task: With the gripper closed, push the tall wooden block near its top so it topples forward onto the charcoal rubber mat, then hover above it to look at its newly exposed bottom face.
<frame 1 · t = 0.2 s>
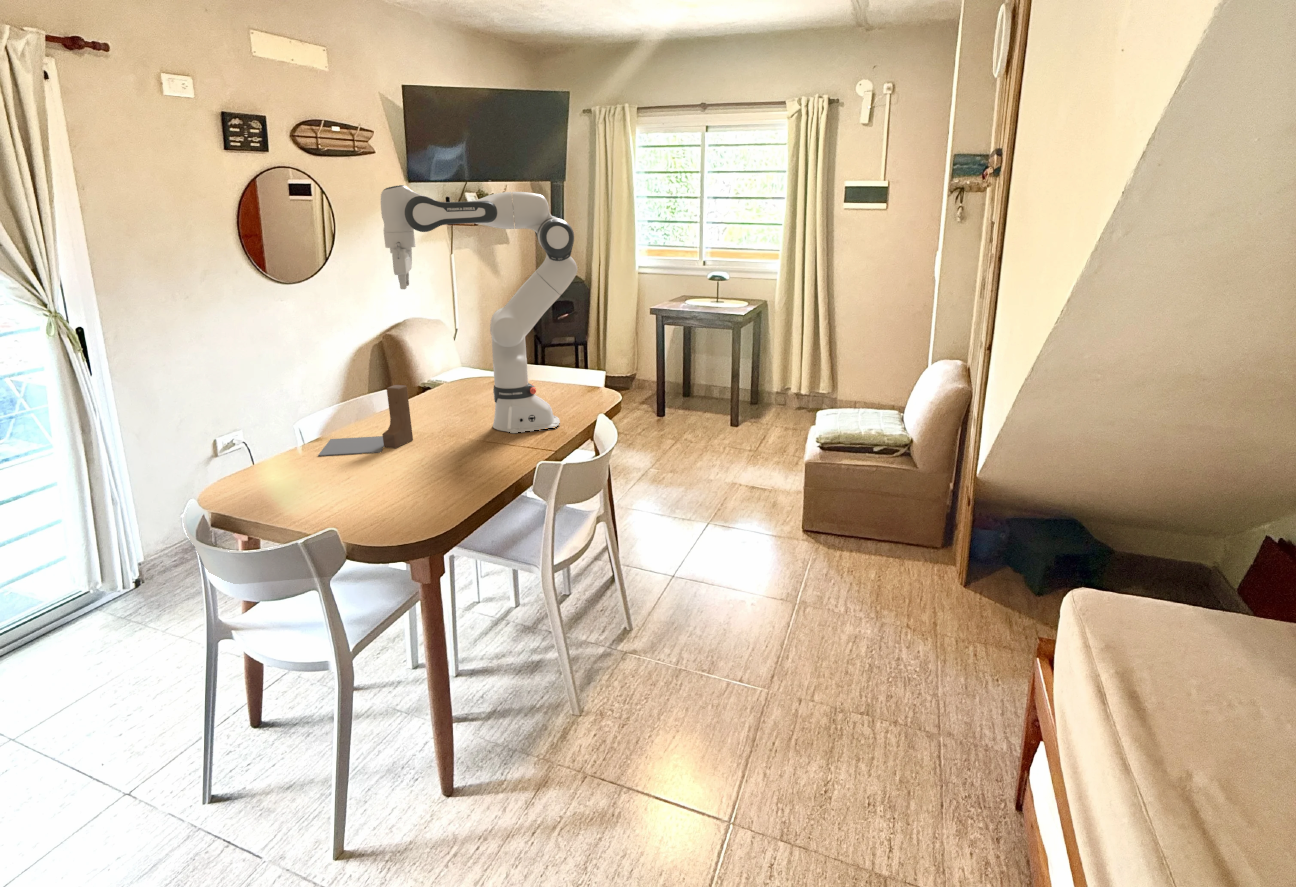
hand: (405, 287, 231), 47 cm above the table, tool pointing down, fingers open, 8 cm apart
wooden block: (398, 444, 233), on the table
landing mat: (355, 446, 231), on the table
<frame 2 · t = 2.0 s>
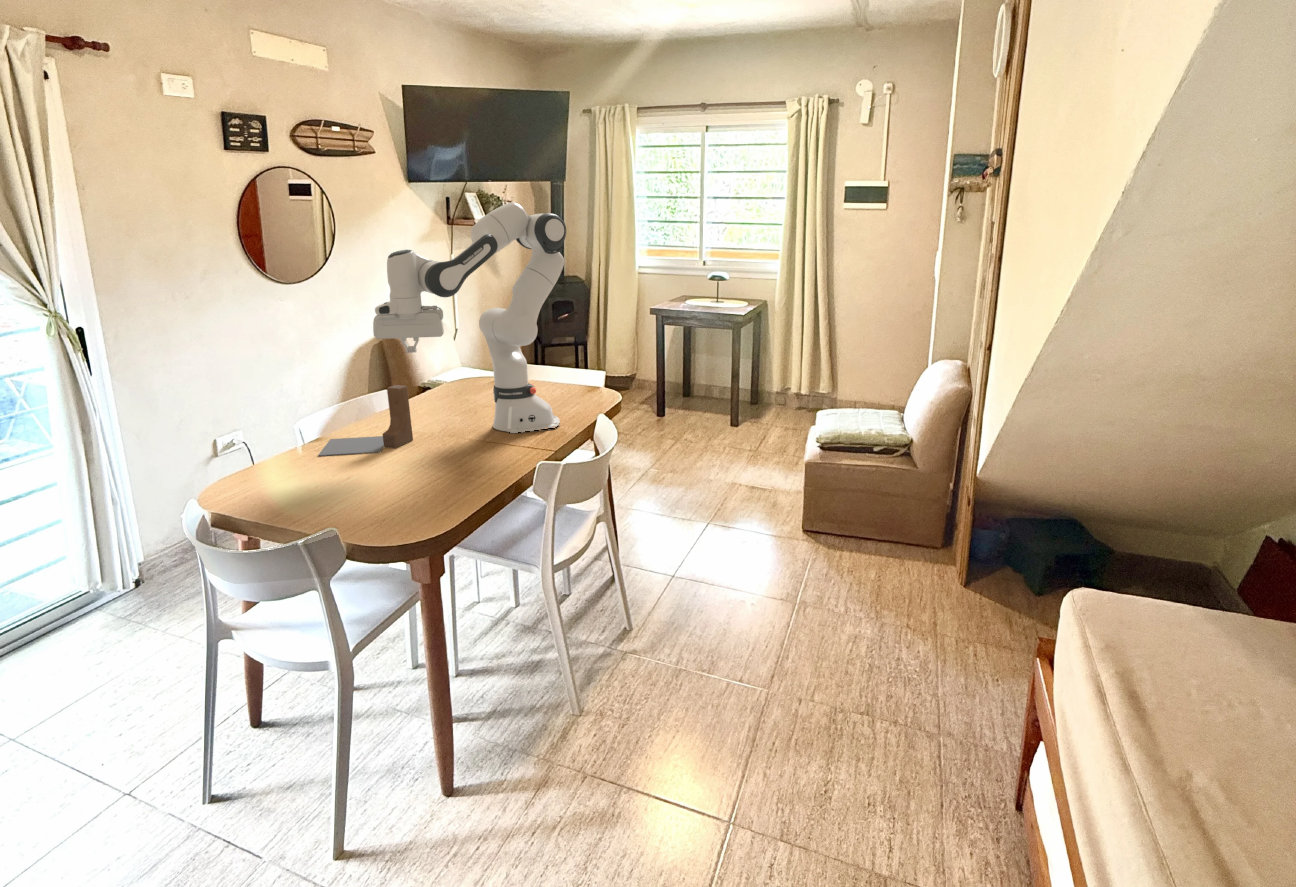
hand: (411, 352, 225), 29 cm above the table, tool pointing down, fingers closed
nothing on the table moved.
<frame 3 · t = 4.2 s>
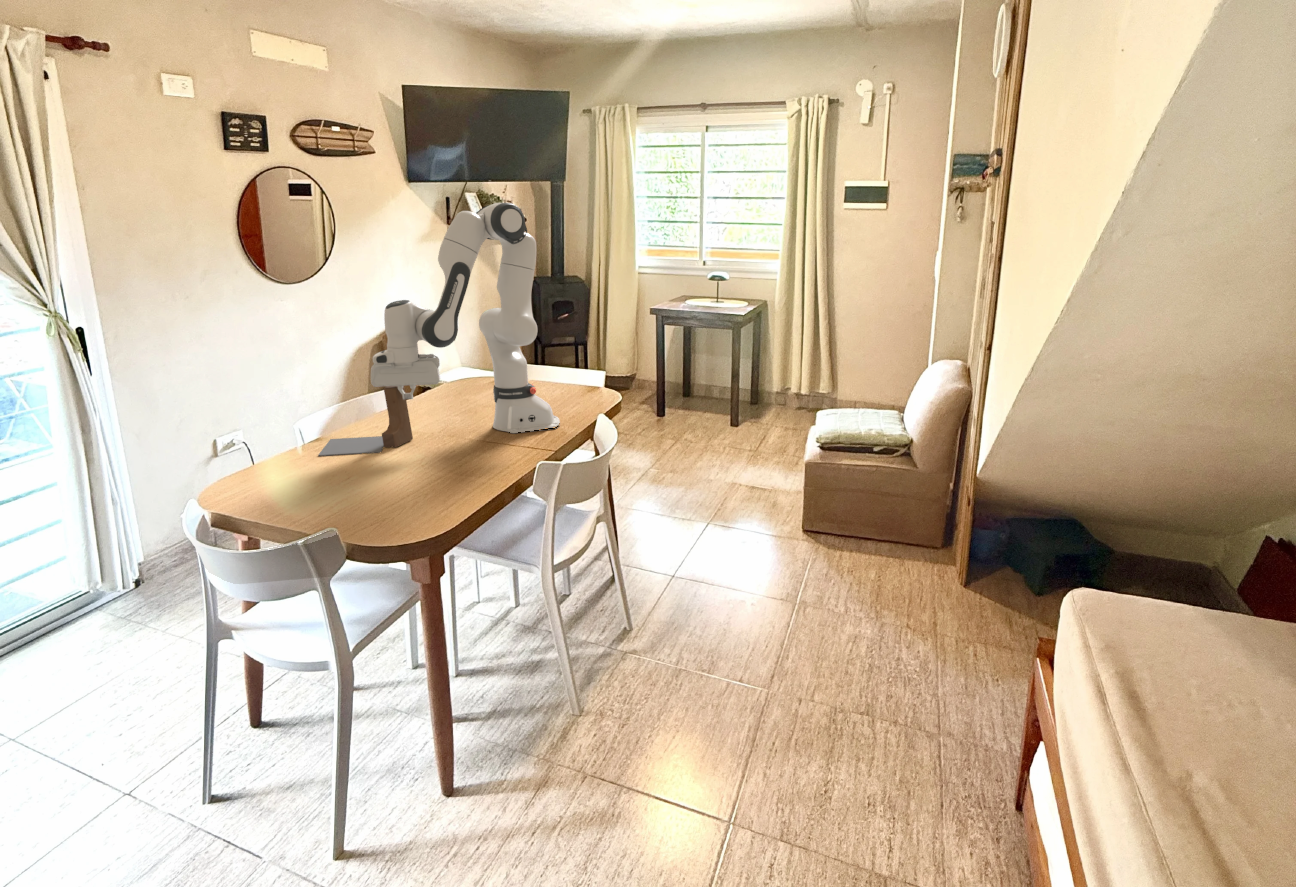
hand: (408, 399, 229), 14 cm above the table, tool pointing down, fingers closed
wooden block: (398, 443, 233), on the table, touching gripper
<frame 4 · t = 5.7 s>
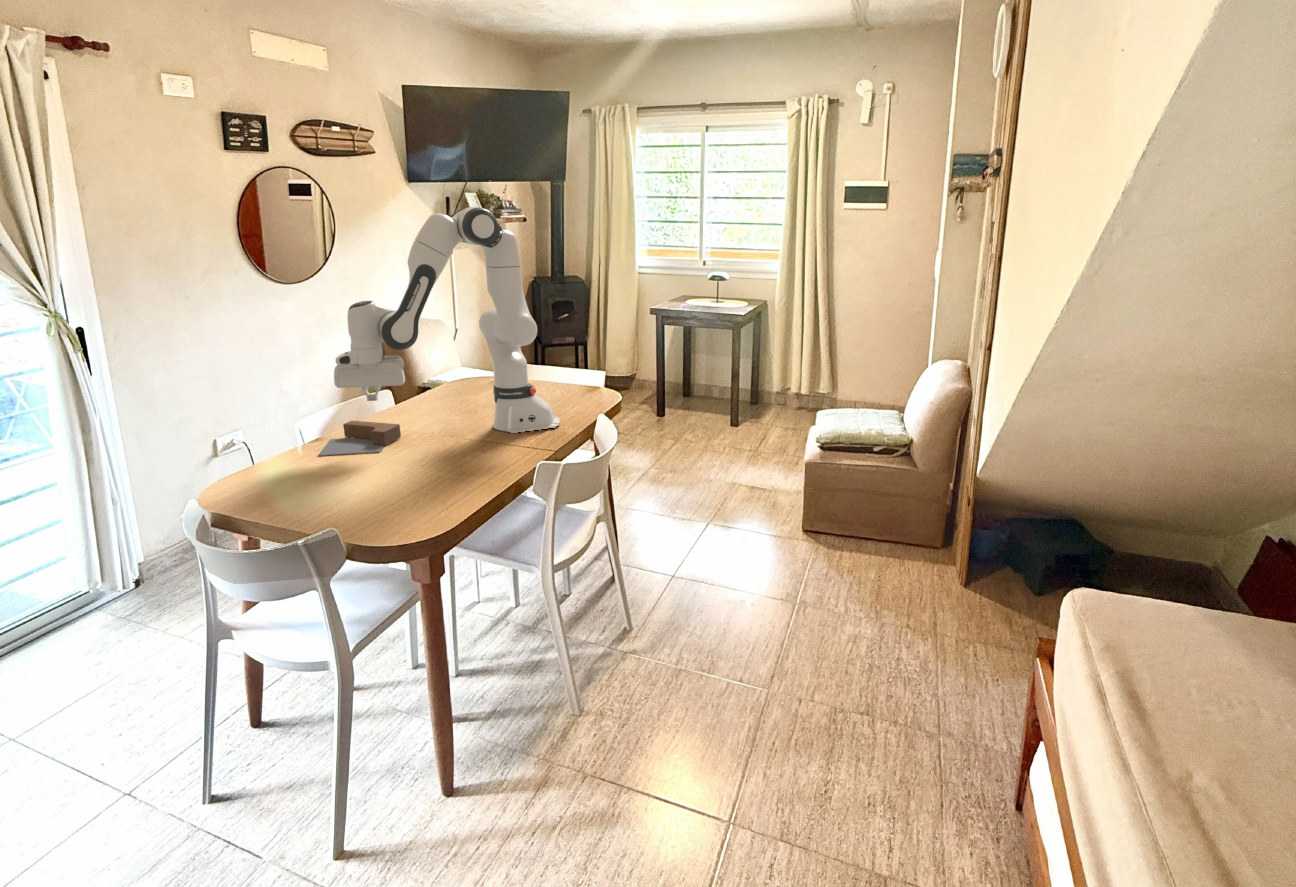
hand: (372, 400, 228), 14 cm above the table, tool pointing down, fingers closed
wooden block: (393, 434, 234), point 3 cm above the table, touching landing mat
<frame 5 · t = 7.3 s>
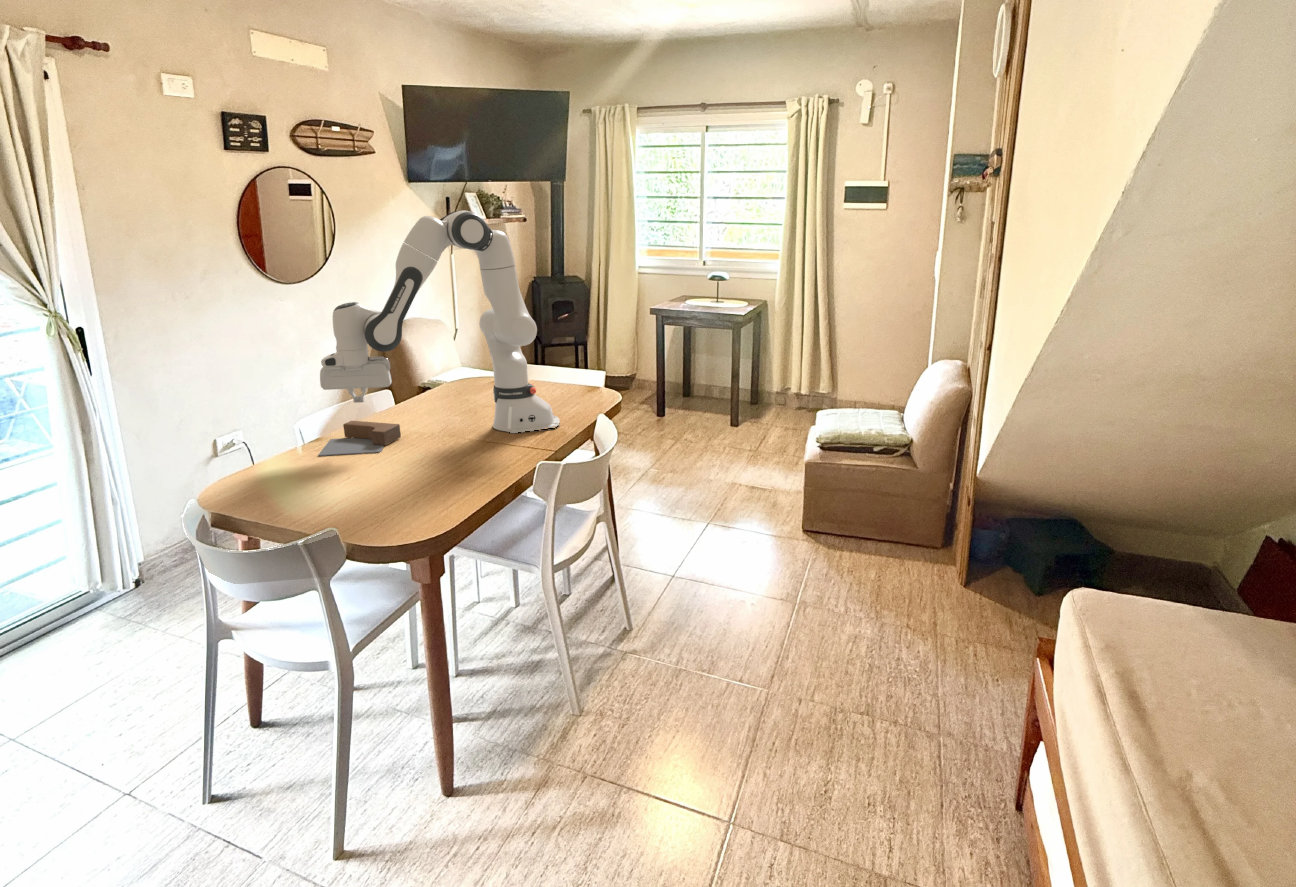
hand: (359, 402, 227), 14 cm above the table, tool pointing down, fingers closed
nothing on the table moved.
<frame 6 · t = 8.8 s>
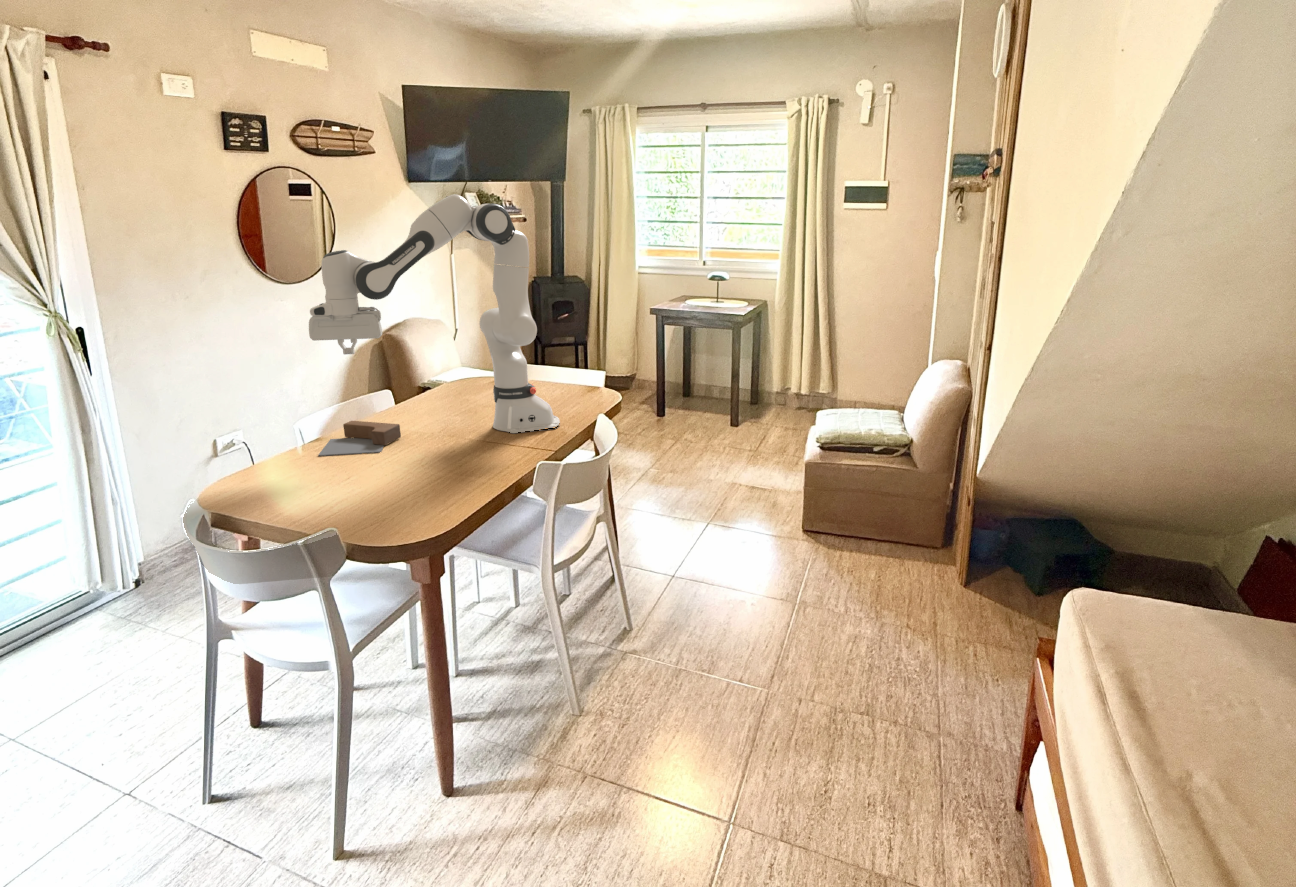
hand: (349, 354, 222), 29 cm above the table, tool pointing down, fingers closed
nothing on the table moved.
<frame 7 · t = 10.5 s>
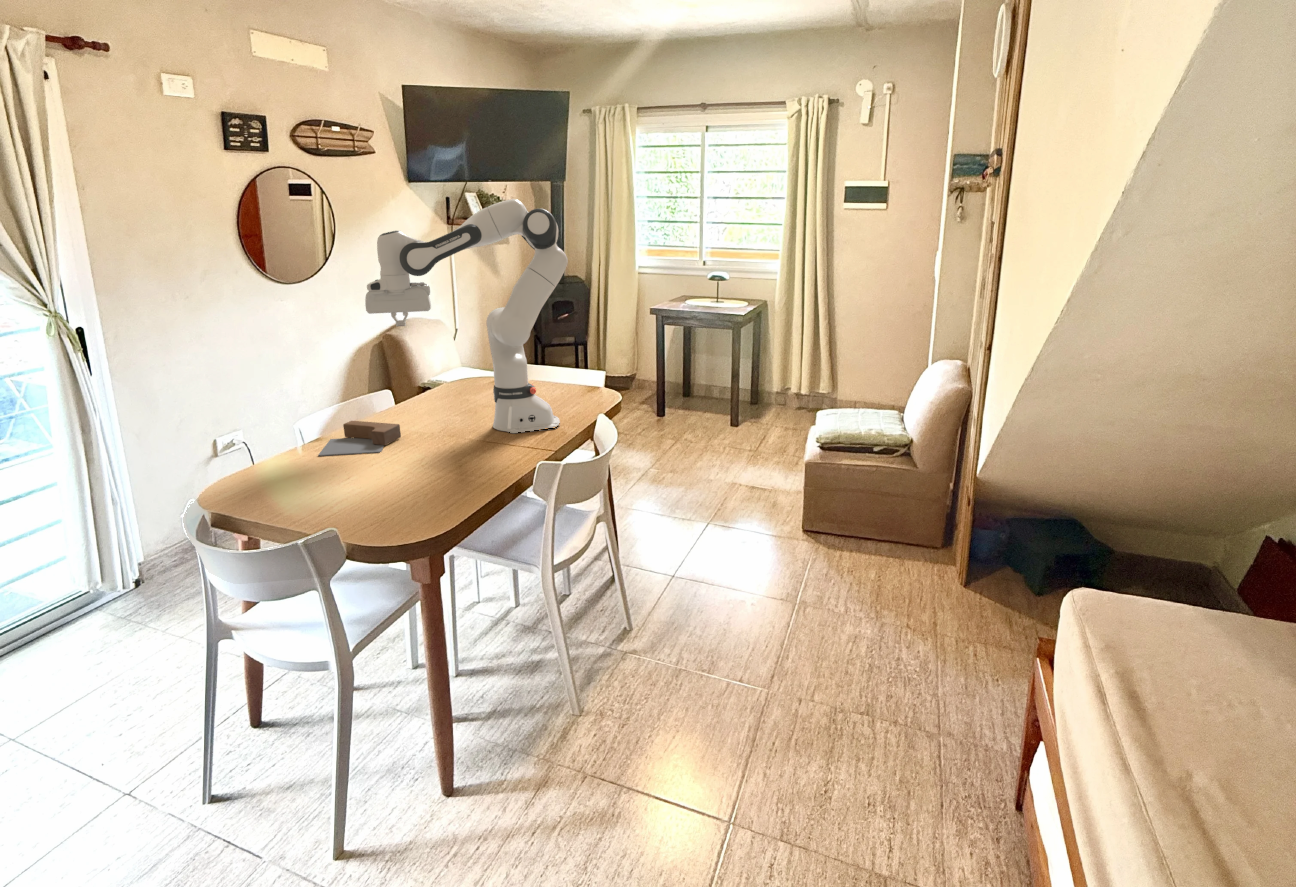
hand: (401, 326, 244), 34 cm above the table, tool pointing down, fingers closed
nothing on the table moved.
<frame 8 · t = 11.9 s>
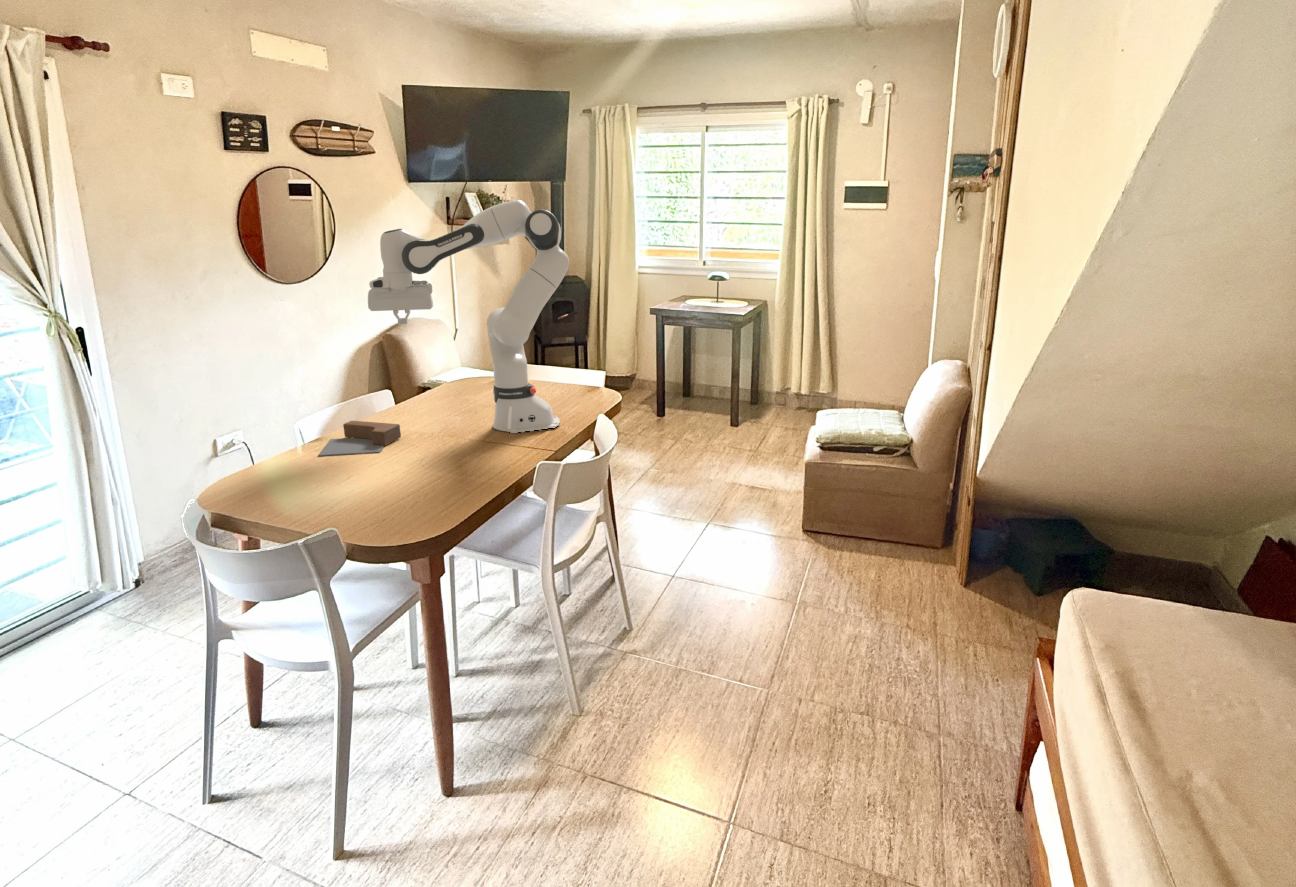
hand: (403, 323, 244), 34 cm above the table, tool pointing down, fingers closed
nothing on the table moved.
at the end: wooden block tilted 90°; wooden block inside the target area (2.1 cm from its centre), point 2.7 cm above the table; wooden block touching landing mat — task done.
